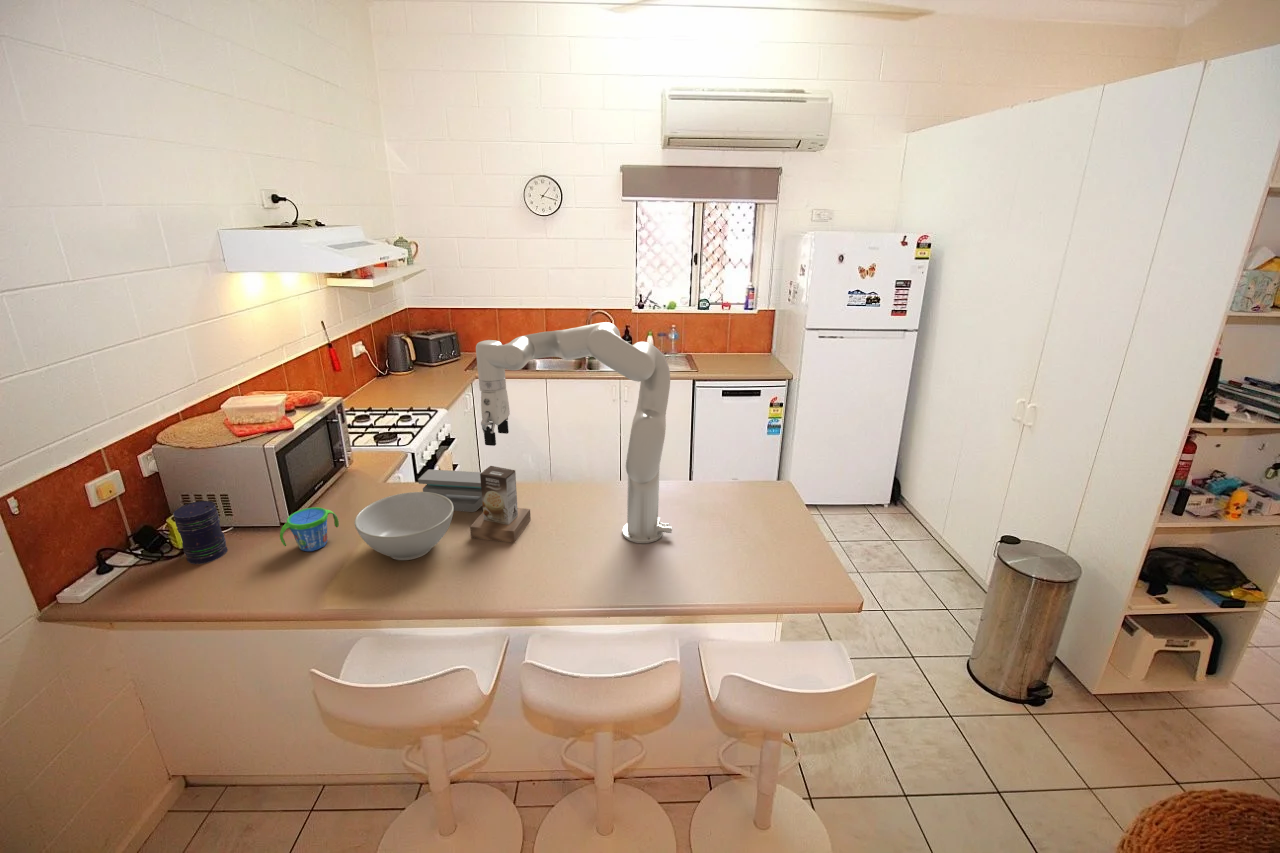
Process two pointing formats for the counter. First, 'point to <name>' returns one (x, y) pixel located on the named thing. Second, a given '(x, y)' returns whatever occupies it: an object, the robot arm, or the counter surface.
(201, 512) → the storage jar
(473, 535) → the walnut riser
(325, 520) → the snack cup
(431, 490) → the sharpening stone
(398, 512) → the decorative bowl
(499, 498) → the coffee box
